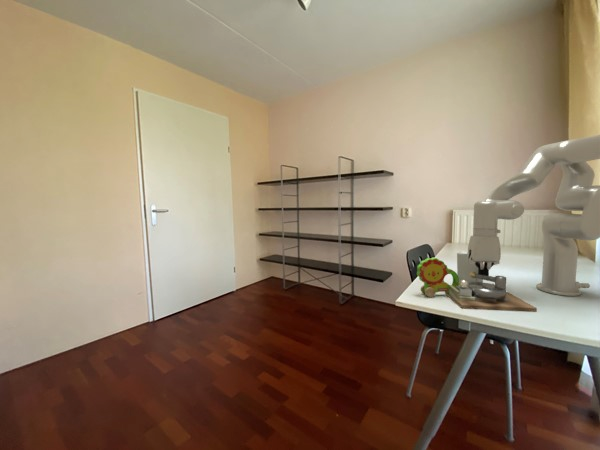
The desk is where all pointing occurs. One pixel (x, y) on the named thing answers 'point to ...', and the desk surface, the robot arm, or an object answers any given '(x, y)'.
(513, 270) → the desk surface
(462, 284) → the block with glass ball
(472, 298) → the stand
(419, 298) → the desk surface
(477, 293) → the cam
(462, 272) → the skincare box
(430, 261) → the toy lion
